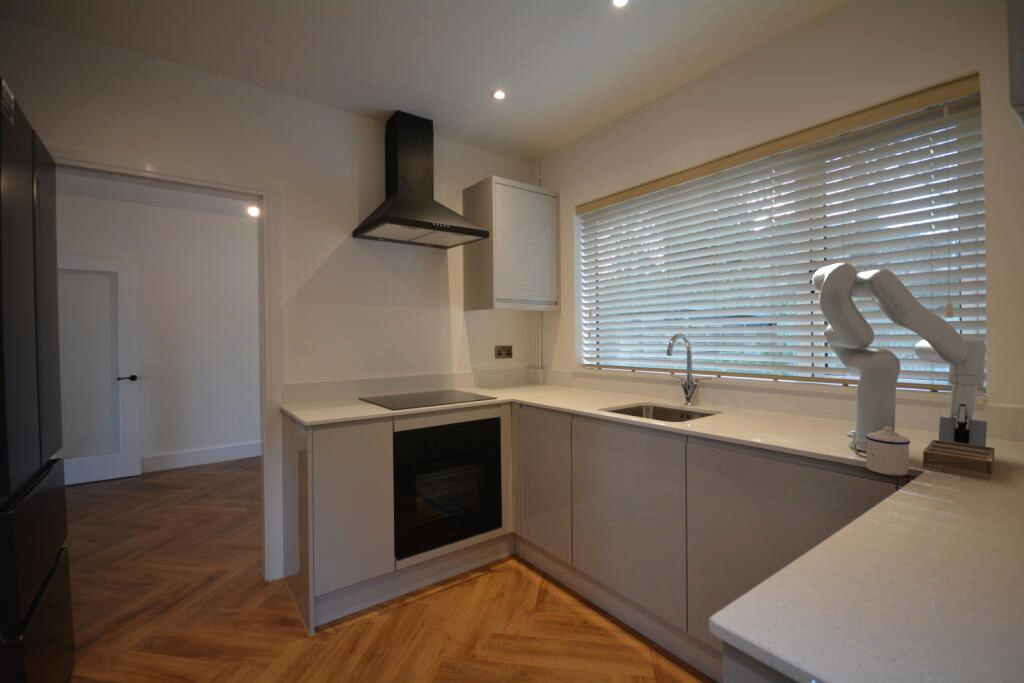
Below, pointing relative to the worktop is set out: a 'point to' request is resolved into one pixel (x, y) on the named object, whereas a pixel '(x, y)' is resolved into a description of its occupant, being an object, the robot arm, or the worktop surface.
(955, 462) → the rack
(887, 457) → the teacup with lid
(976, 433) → the panel
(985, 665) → the worktop surface
